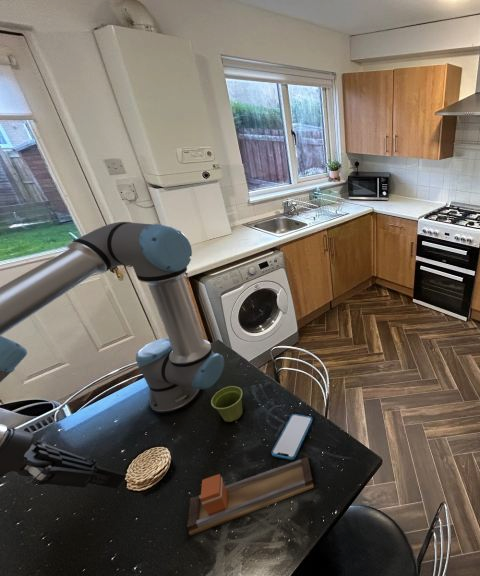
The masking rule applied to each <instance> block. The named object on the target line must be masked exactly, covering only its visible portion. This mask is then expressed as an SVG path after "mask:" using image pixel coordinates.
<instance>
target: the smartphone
mask: <svg viewBox="0 0 480 576" xmlns="http://www.w3.org/2000/svg"><path fill="white" fill-rule="evenodd" d="M312 423H313V417H312V416H308V415H304V414H297V413H293V414H291V415H290V417H289V419H288V420H287V422H286V424H285V426H284V428H283V430H282V432H281V433H280V435H279V437H278V439H277V441H276V442H275V444H274V446H273V448H272V450H271V456H272V457H275V458H280V459H285V460H291V461H293V460H295V459H296V457H297V455H298V453H299V451H300V449H301V447H302V445H303V442H304V441H305V438H306V436H307V434H308V431H309V430H310V428H311V426H312Z"/></svg>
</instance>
